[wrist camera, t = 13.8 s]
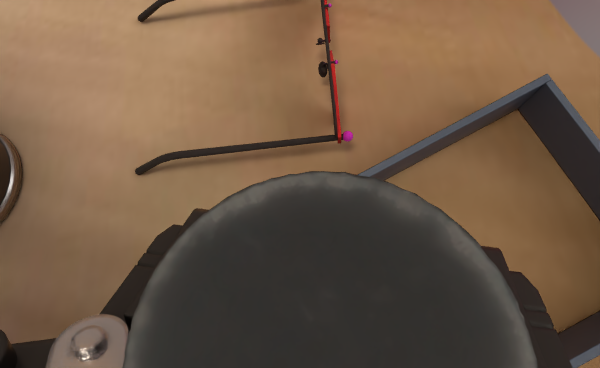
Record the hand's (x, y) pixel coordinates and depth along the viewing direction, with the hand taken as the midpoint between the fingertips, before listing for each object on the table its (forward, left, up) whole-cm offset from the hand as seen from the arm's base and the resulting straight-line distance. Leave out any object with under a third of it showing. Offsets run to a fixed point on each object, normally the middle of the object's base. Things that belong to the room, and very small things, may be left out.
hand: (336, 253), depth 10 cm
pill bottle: (+1, -1, -5) cm, 6 cm away
